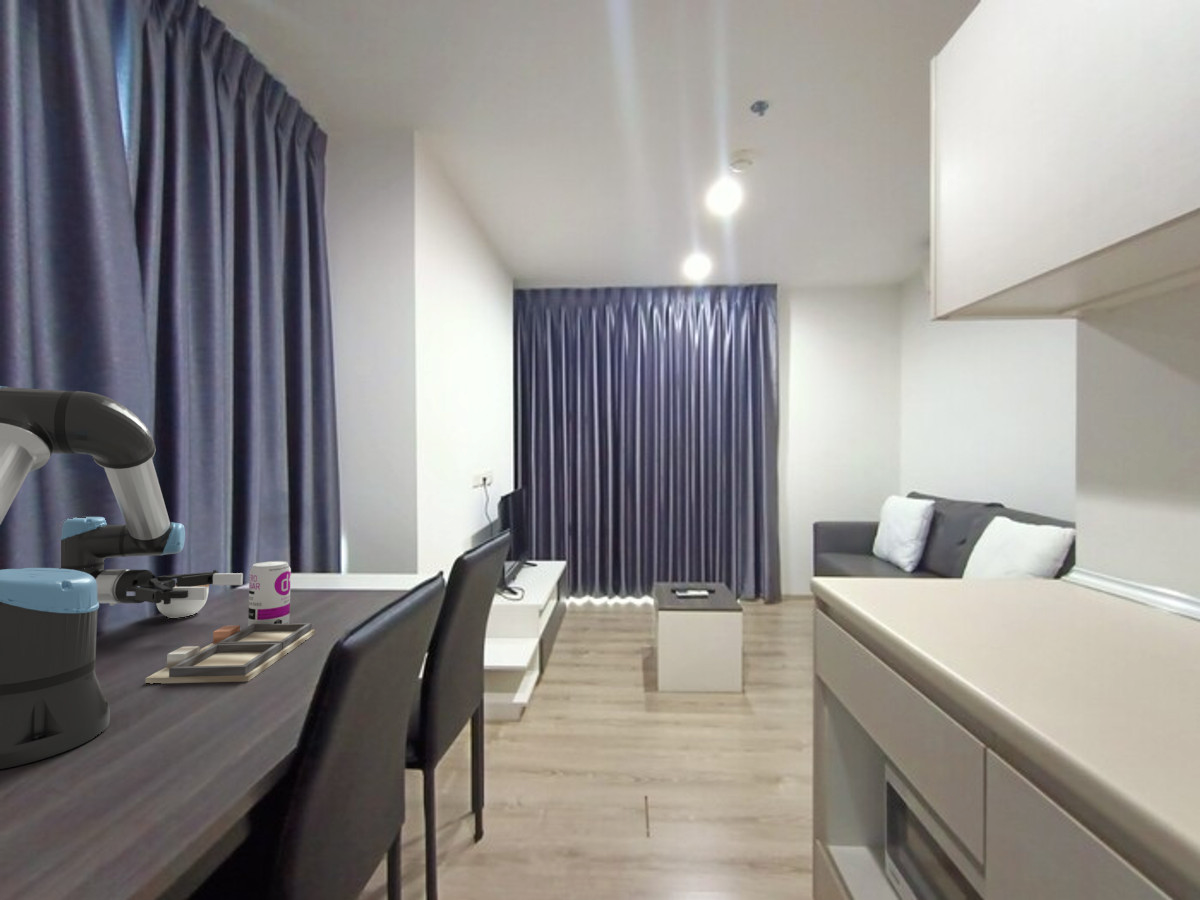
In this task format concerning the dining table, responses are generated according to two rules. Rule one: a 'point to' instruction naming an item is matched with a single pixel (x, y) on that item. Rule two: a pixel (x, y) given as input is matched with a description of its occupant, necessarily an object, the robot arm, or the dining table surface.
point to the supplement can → (269, 593)
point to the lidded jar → (182, 606)
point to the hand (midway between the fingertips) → (224, 585)
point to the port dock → (233, 654)
